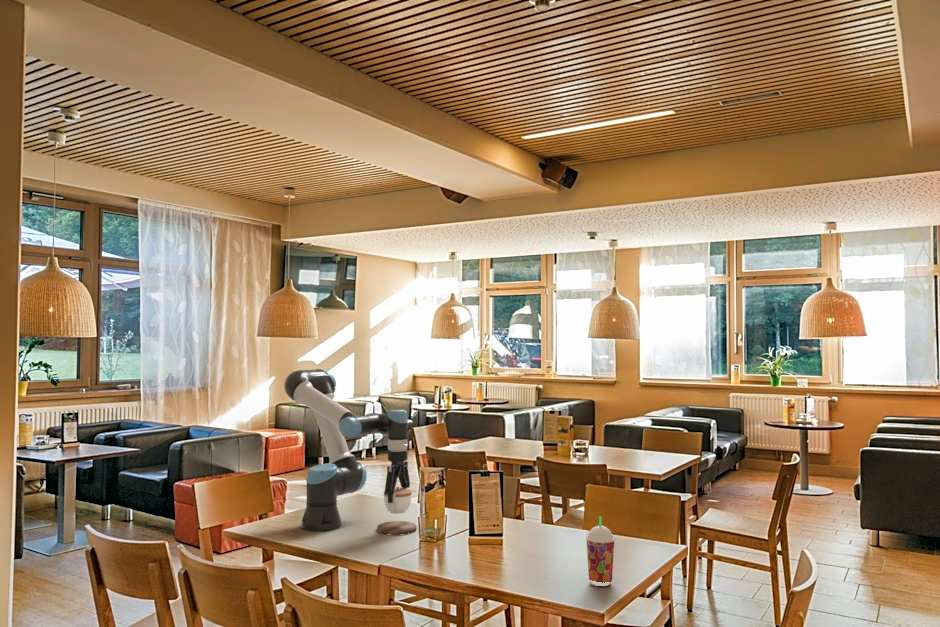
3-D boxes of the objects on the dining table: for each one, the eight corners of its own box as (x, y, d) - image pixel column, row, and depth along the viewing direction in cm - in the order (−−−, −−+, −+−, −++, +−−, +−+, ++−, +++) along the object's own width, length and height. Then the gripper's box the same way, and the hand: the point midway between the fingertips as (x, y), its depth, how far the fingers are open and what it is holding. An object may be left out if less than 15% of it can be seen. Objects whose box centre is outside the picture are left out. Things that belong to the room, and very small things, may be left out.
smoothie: (611, 579, 220) (611, 513, 220) (617, 588, 211) (617, 520, 212) (583, 579, 219) (583, 513, 220) (589, 589, 211) (589, 520, 212)
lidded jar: (379, 514, 272) (379, 489, 273) (390, 507, 283) (390, 483, 283) (405, 515, 269) (405, 490, 270) (415, 509, 280) (415, 485, 280)
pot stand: (370, 533, 271) (370, 529, 271) (387, 523, 285) (387, 519, 285) (407, 536, 266) (407, 532, 266) (422, 526, 281) (422, 523, 281)
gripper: (393, 454, 265) (393, 515, 264) (418, 446, 287) (418, 502, 286) (375, 453, 267) (375, 513, 266) (401, 445, 289) (401, 501, 288)
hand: (397, 507), depth 276 cm, fingers closed on lidded jar, 11 cm apart
